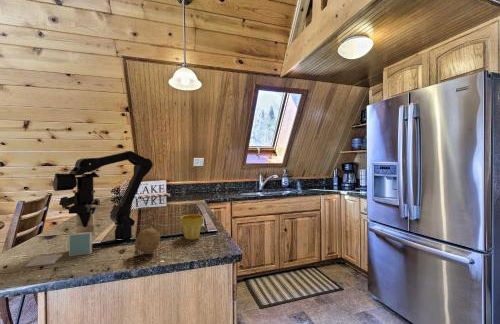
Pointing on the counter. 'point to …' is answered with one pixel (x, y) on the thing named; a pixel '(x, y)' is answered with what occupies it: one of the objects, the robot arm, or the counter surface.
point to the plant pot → (191, 226)
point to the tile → (80, 243)
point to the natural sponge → (147, 241)
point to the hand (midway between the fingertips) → (85, 226)
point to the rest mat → (44, 260)
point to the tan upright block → (89, 227)
